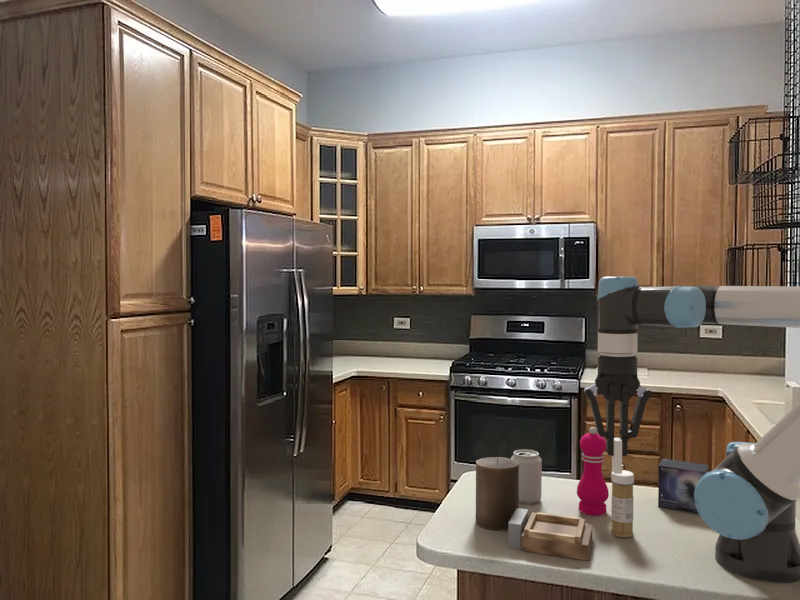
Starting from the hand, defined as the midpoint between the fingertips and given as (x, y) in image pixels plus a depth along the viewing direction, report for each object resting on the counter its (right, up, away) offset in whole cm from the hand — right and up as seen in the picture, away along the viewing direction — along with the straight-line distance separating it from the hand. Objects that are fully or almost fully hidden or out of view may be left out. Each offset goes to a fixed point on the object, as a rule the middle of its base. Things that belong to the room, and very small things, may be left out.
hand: (616, 471), depth 127 cm
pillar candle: (-21, -16, +16) cm, 31 cm away
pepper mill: (+2, -16, +23) cm, 28 cm away
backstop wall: (-18, -16, +7) cm, 25 cm away
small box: (+24, -16, +25) cm, 38 cm away
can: (-12, -16, +31) cm, 36 cm away
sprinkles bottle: (+4, -16, +9) cm, 19 cm away
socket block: (-11, -16, +4) cm, 20 cm away
